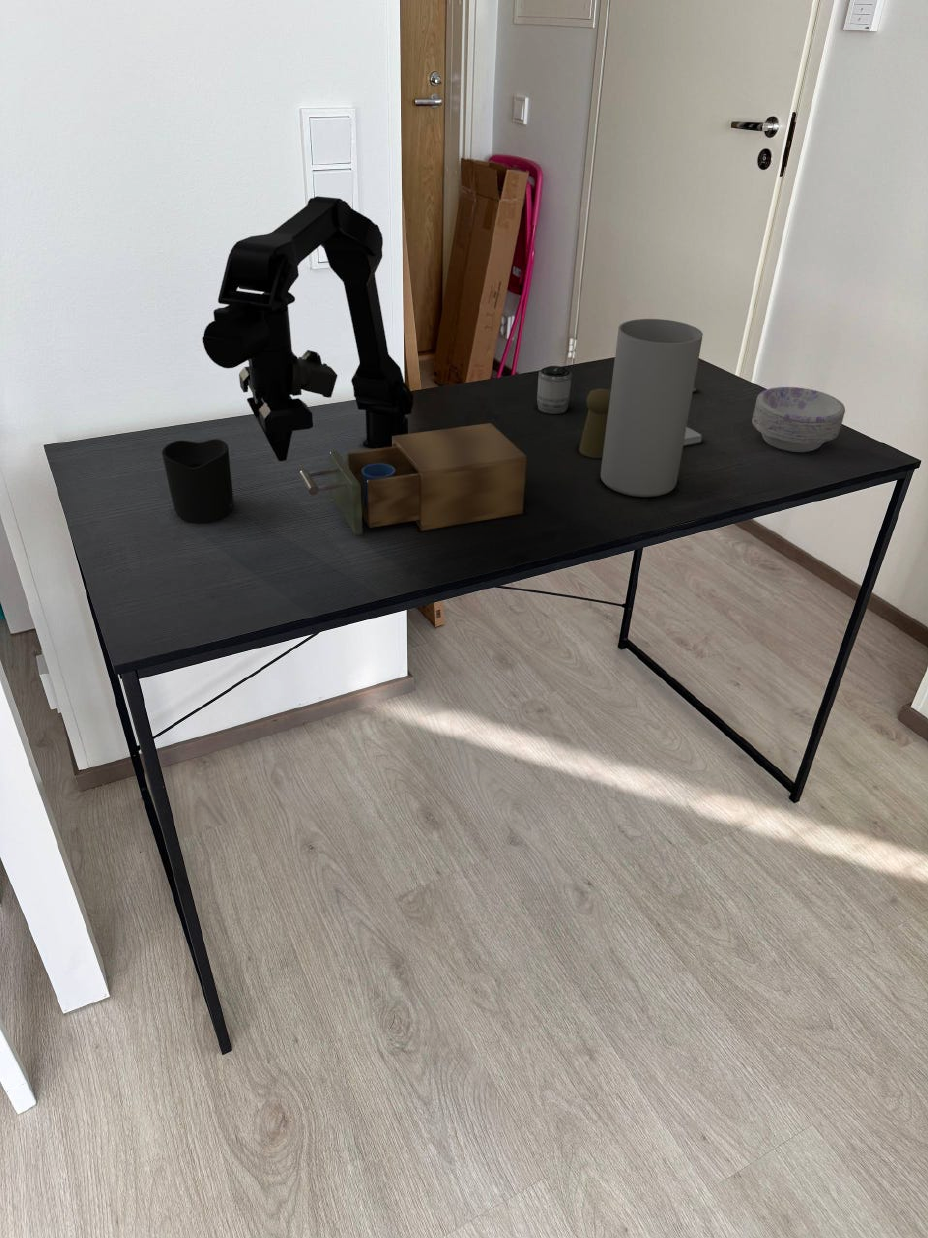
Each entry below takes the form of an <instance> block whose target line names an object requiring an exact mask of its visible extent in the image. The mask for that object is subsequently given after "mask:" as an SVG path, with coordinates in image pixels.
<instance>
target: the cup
mask: <svg viewBox="0 0 928 1238" xmlns="http://www.w3.org/2000/svg"><path fill="white" fill-rule="evenodd" d="M394 476H396V472H395V468H394V467H393V466H391V465H389V464H383V463H375V464H370V465H367V466H365V467H364V468H363V469H362V493H363V505H364V506H365V507H366V508H367V509H368V504H367V480H374V479H381V478H388V477H394Z"/></svg>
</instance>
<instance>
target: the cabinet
mask: <svg viewBox="0 0 928 1238" xmlns="http://www.w3.org/2000/svg"><path fill="white" fill-rule="evenodd" d="M392 446H397V447H398V448H399V450H400V451H401V452H402V453H403V455H404V456H405V457H406V458H407V459H408V461H409V462H410V463H411V464H412V465H413V467H414V468H415V469H416V470H417V472H418V473H419V474H420V520H415V521H414V523H415V524H416V525H417V527H419V529H420V530H421V532H422V531H429V530H435V529H440V528H446V527H447V528H448V527H452V526H458V525H459V526H460V525H465V524H471V523H474V522H475V523H476V522H481V521H488V520H493V519H499V518H505V517H511V516H516V515H517V516H518V515H522V514H523V513H524V498H525V487H526V485H525V484H526V472H527V471H526V469H527V455H526V454H525V453H524V452H523V451H521V450H520V449H519V448H518V447H517V446H516V445H515V444H514V443H513V442H512V441H510V439H508V437H506V435H504V434H503V433H502V432H501V431H500V430H499V429H498V428H497V427H495V425H493V423H491V422H488V423H481V424H473V425H465V426H459V427H457V426H456V427H451V428H450V427H449V428H443V429H435V430H427V431H421V432H419V431H418V432H412V433H408V434H404V435H397V436H392Z"/></svg>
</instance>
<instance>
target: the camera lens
mask: <svg viewBox="0 0 928 1238" xmlns="http://www.w3.org/2000/svg"><path fill="white" fill-rule="evenodd" d="M571 385H572V372H571V371H570V370H569V369H568V368H566V367H564V366H559V365H549V366H545V367H543V368H541V369H540V370H539V372H538V379H537V395H536V400H537V404H536V405H537V408H538V411H540V412H542V413H544V414H551V415H552V414H553V415H557V414H563V413H565V412H567V410H568V408H569V403H570V402H569V401H570V397H571Z"/></svg>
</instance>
